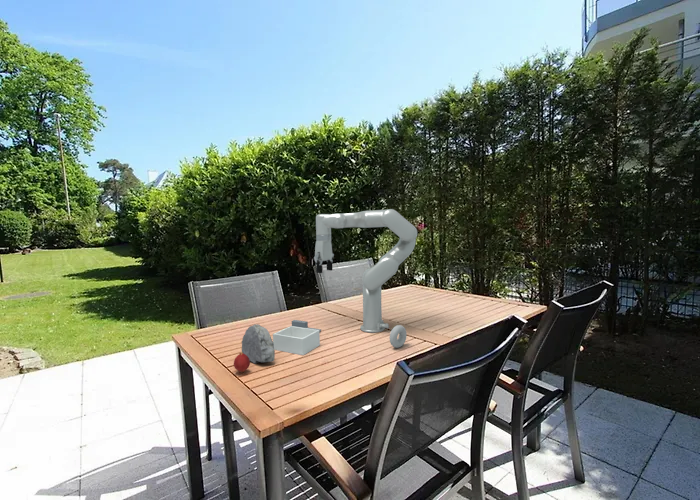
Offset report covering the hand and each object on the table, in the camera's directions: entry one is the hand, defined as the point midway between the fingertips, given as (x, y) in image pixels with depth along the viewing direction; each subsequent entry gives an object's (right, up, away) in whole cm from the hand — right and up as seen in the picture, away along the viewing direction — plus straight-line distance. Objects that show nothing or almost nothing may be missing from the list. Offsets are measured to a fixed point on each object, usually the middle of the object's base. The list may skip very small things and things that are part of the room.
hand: (324, 271), depth 178 cm
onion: (-27, -35, -48) cm, 66 cm away
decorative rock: (-24, -34, -37) cm, 56 cm away
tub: (-11, -33, -23) cm, 41 cm away
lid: (-12, -31, -4) cm, 34 cm away
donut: (+34, -32, -26) cm, 53 cm away
